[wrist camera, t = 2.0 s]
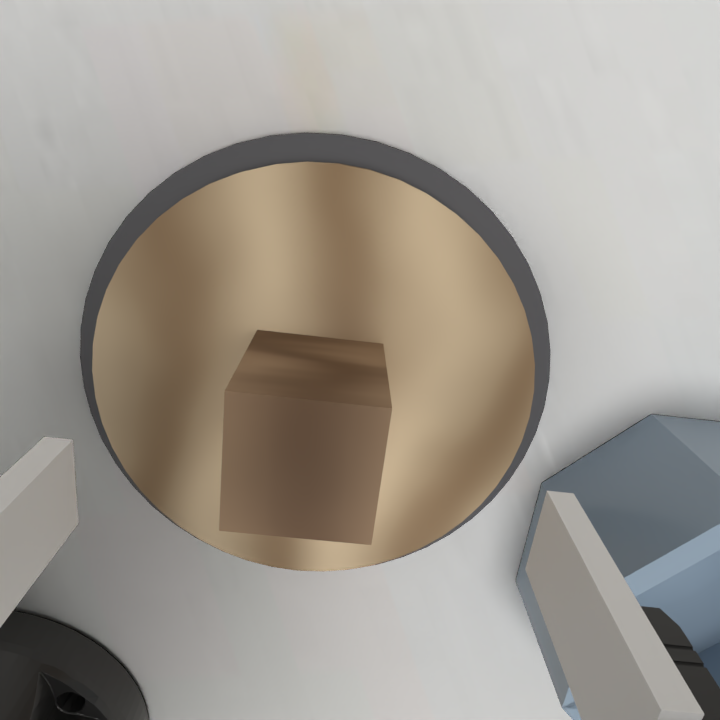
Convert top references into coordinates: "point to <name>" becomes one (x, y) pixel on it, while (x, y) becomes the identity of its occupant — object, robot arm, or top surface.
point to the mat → (347, 153)
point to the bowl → (649, 528)
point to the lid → (313, 366)
